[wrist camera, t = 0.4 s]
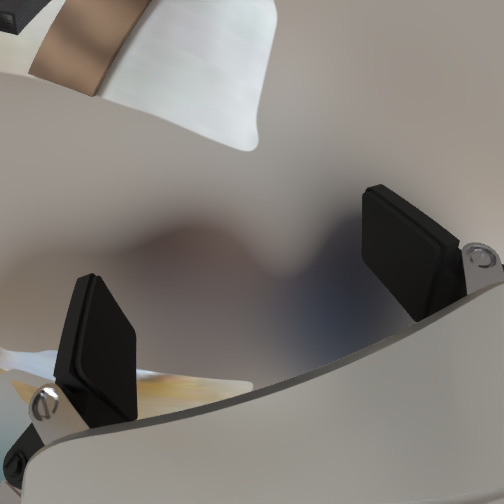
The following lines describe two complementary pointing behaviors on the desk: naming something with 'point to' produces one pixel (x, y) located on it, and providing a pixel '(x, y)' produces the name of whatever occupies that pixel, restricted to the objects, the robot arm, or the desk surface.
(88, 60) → the press base
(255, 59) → the desk surface
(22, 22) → the lever
